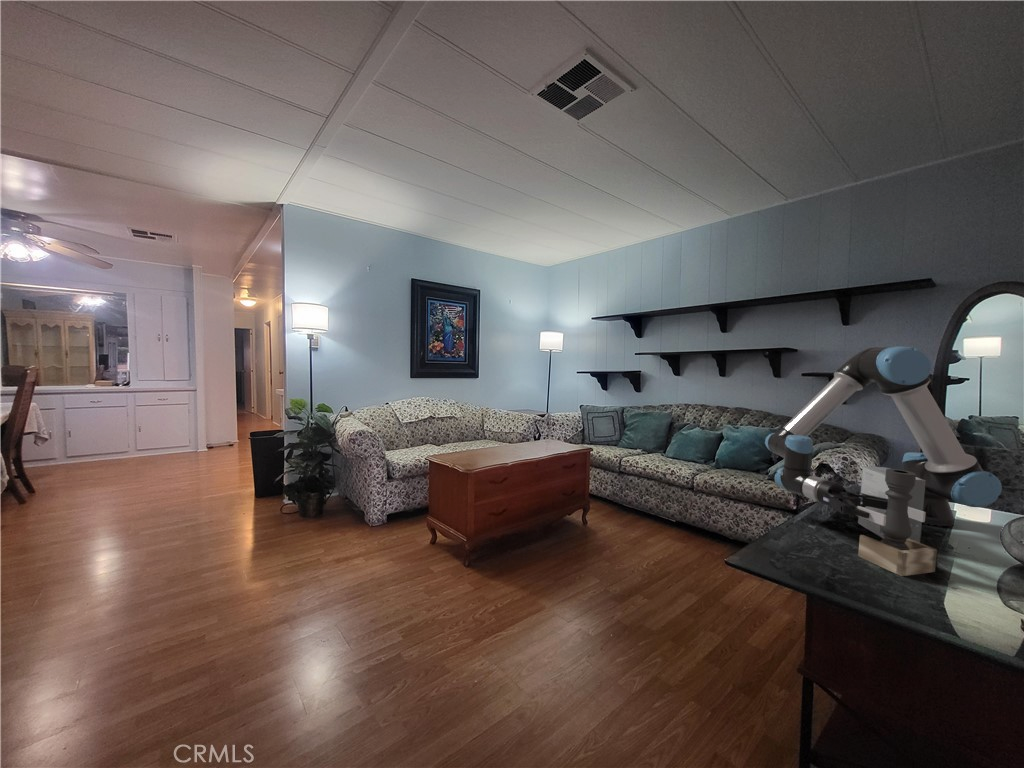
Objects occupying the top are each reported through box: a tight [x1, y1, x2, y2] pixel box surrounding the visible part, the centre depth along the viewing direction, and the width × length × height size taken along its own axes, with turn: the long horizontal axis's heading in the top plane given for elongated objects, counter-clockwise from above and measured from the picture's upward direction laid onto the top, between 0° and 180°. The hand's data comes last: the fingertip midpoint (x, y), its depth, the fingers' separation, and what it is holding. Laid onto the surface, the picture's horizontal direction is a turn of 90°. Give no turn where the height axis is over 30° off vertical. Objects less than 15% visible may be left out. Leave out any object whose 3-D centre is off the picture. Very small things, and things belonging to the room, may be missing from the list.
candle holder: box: [879, 468, 916, 550], centre depth 105 cm, size 6×6×25 cm
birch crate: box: [857, 534, 938, 577], centre depth 105 cm, size 11×10×6 cm
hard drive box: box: [857, 465, 926, 543], centre depth 123 cm, size 16×8×20 cm, turn 168°
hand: (905, 518), depth 103 cm, fingers open, 13 cm apart
